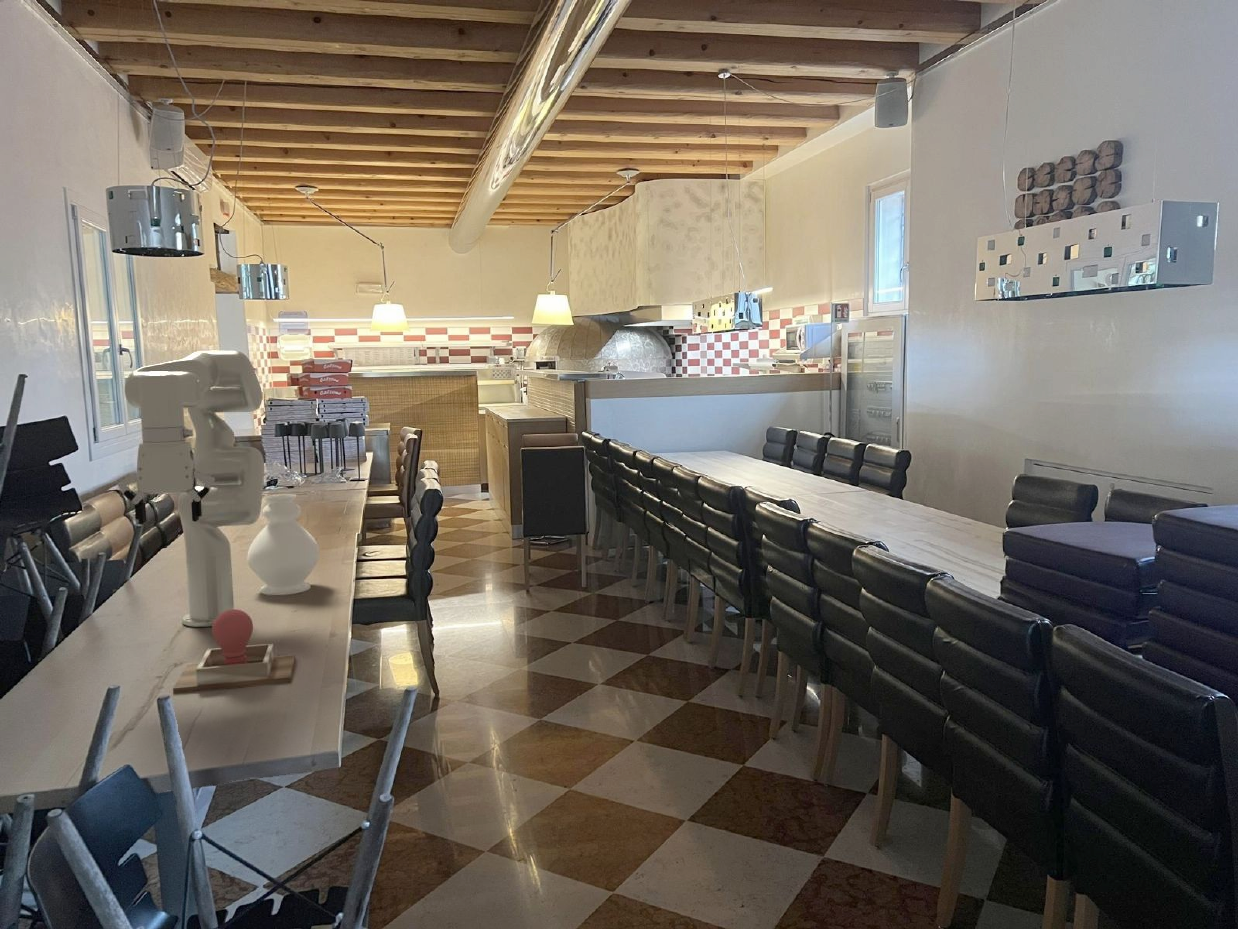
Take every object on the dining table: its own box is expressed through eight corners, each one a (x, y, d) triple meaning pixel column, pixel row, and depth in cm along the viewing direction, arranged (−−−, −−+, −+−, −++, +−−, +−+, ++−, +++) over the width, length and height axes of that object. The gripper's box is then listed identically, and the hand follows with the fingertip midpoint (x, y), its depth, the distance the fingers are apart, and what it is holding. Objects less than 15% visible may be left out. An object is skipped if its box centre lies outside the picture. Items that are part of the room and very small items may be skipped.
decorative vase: (319, 578, 246) (315, 489, 243) (322, 594, 229) (318, 498, 226) (250, 584, 239) (245, 493, 236) (248, 600, 223) (243, 503, 220)
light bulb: (209, 670, 169) (205, 610, 168) (246, 662, 174) (243, 602, 173) (223, 680, 164) (219, 617, 163) (261, 670, 169) (258, 609, 168)
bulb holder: (187, 669, 173) (186, 650, 172) (295, 660, 178) (294, 640, 178) (173, 693, 160) (171, 672, 160) (290, 682, 166) (289, 661, 165)
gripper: (214, 433, 180) (219, 516, 182) (120, 435, 175) (126, 520, 177) (208, 436, 173) (213, 522, 175) (109, 439, 168) (115, 527, 170)
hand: (169, 521), depth 176 cm, fingers open, 9 cm apart
